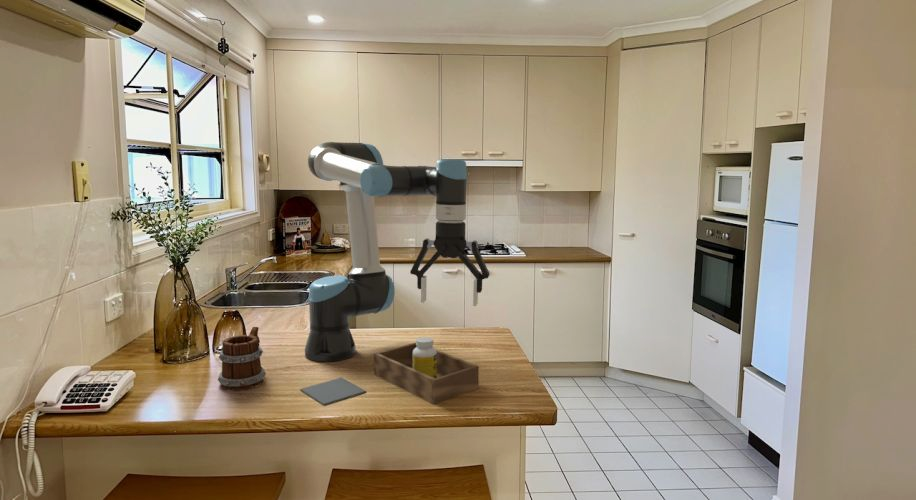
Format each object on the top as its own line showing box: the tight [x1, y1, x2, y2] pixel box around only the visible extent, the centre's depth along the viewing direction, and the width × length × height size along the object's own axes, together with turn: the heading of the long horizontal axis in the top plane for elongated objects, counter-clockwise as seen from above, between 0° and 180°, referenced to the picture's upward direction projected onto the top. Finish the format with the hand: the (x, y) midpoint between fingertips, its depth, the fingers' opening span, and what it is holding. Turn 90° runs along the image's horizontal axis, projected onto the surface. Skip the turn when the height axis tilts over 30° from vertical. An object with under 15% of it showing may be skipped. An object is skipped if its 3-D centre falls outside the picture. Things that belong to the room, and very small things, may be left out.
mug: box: [217, 326, 267, 391], centre depth 147 cm, size 12×14×15 cm
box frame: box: [373, 342, 480, 405], centre depth 148 cm, size 26×15×6 cm, turn 42°
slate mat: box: [299, 377, 367, 406], centre depth 141 cm, size 12×12×1 cm
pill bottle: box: [412, 336, 438, 378], centre depth 148 cm, size 6×6×12 cm
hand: (449, 303), depth 143 cm, fingers open, 13 cm apart
